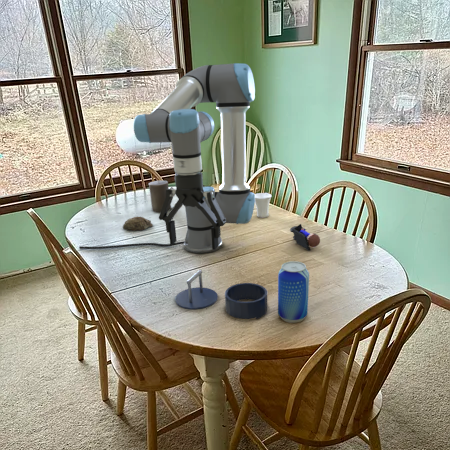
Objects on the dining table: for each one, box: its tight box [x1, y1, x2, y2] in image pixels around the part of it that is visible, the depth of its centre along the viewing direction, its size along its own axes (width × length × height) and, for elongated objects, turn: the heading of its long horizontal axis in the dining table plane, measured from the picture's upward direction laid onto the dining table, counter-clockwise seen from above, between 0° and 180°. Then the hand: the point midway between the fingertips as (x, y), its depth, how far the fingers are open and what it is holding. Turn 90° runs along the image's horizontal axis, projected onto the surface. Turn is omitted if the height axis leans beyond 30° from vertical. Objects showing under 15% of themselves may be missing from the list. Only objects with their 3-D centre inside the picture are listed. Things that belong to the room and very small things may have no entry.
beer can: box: [277, 260, 310, 324], centre depth 124 cm, size 8×8×16 cm
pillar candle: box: [148, 180, 172, 213], centre depth 222 cm, size 10×10×15 cm
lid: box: [174, 269, 219, 310], centre depth 137 cm, size 13×13×9 cm
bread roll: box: [122, 216, 154, 232], centre depth 203 cm, size 13×12×5 cm
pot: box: [224, 282, 268, 320], centre depth 131 cm, size 12×12×6 cm
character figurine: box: [289, 223, 321, 252], centre depth 172 cm, size 8×7×15 cm
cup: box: [254, 192, 272, 219], centre depth 206 cm, size 9×9×10 cm
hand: (194, 245), depth 130 cm, fingers open, 13 cm apart
